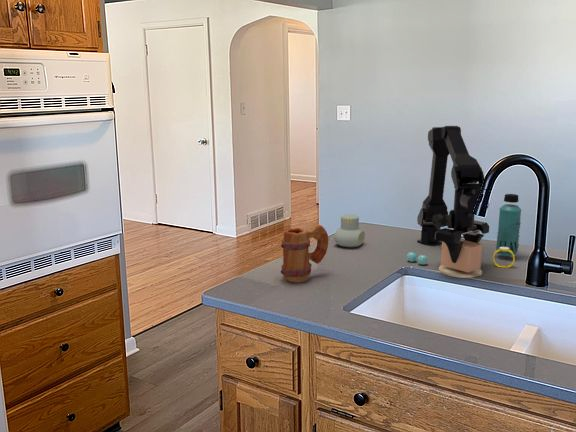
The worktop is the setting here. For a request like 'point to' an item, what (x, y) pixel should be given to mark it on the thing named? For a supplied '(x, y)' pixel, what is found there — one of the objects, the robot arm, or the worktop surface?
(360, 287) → the worktop surface
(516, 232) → the beverage bottle
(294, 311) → the worktop surface
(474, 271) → the coaster
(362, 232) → the air freshener
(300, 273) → the mug
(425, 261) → the marble
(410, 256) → the marble
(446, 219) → the robot arm
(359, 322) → the worktop surface
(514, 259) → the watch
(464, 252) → the salmon pink block
